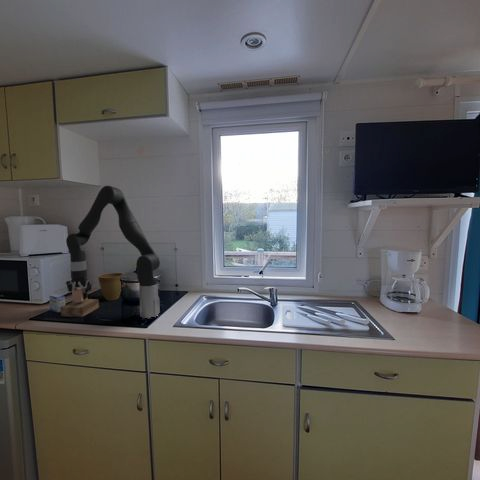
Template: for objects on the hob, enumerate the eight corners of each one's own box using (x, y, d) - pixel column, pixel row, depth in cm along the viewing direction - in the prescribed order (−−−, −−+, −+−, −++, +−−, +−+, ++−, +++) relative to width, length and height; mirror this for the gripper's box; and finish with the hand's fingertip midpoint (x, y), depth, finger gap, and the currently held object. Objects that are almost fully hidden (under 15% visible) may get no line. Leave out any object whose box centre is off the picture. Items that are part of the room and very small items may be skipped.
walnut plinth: (98, 307, 145) (98, 299, 144) (82, 316, 131) (82, 307, 130) (79, 307, 145) (78, 298, 145) (61, 316, 131) (60, 307, 131)
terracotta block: (87, 298, 140) (87, 288, 139) (81, 301, 135) (81, 290, 134) (79, 298, 140) (78, 288, 140) (72, 301, 135) (72, 290, 135)
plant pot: (129, 298, 162) (128, 274, 161) (105, 304, 150) (104, 278, 149) (118, 294, 171) (117, 271, 170) (95, 299, 159) (94, 275, 158)
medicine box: (49, 310, 140) (48, 295, 140) (58, 307, 144) (57, 293, 144) (57, 312, 137) (56, 297, 136) (65, 310, 141) (65, 295, 140)
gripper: (95, 267, 140) (96, 297, 141) (71, 267, 140) (72, 296, 141) (86, 270, 132) (88, 301, 133) (61, 270, 133) (62, 300, 134)
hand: (80, 298), depth 137 cm, fingers closed on terracotta block, 5 cm apart
